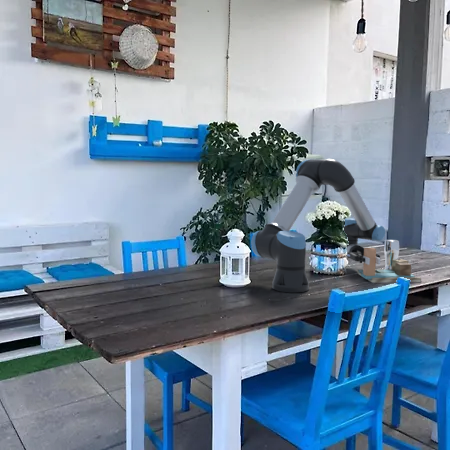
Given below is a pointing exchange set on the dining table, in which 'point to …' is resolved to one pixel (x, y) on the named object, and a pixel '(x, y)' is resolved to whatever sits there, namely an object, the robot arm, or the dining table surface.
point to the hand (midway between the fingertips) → (374, 261)
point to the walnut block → (403, 269)
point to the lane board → (388, 280)
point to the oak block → (397, 262)
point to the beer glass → (391, 252)
